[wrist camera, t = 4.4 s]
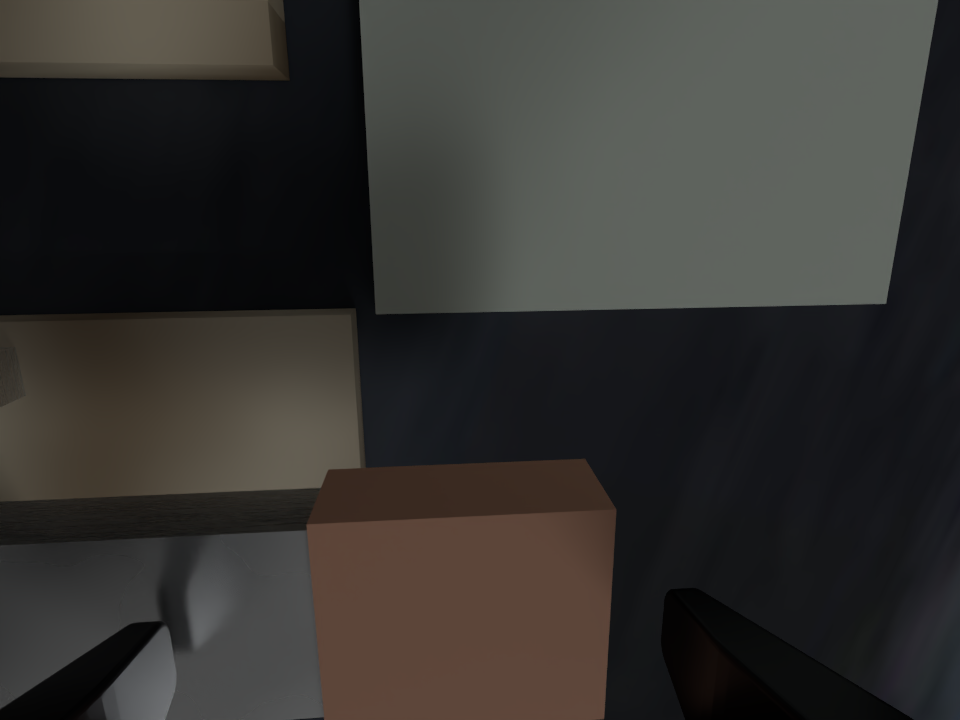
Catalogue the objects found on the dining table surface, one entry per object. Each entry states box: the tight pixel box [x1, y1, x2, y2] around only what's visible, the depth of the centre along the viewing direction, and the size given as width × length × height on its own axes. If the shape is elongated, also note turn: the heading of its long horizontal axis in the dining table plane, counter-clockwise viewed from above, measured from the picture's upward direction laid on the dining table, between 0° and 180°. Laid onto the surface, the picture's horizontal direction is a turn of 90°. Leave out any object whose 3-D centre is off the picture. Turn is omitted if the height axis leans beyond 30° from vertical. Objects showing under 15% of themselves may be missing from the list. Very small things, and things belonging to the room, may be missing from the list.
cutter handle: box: [0, 459, 616, 720], centre depth 8 cm, size 17×3×3 cm, turn 90°
